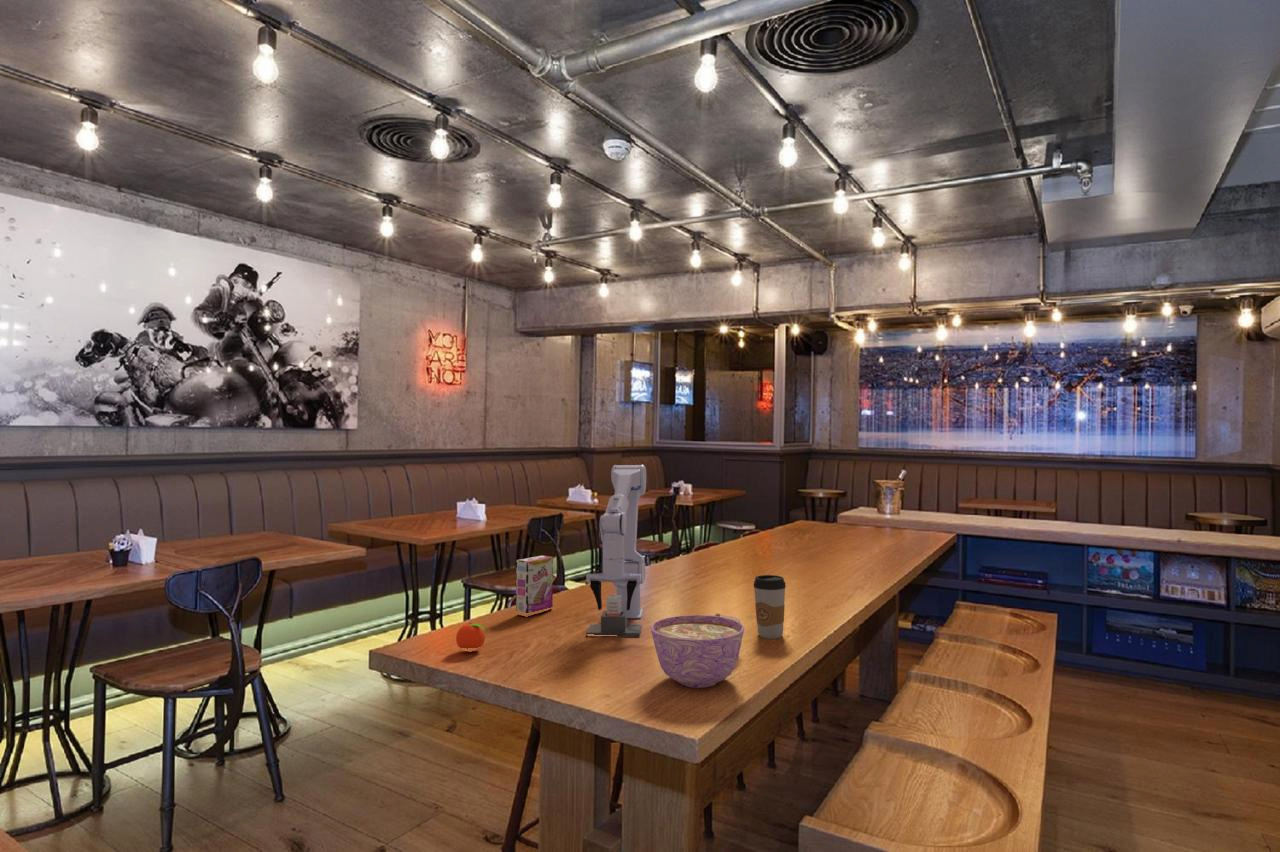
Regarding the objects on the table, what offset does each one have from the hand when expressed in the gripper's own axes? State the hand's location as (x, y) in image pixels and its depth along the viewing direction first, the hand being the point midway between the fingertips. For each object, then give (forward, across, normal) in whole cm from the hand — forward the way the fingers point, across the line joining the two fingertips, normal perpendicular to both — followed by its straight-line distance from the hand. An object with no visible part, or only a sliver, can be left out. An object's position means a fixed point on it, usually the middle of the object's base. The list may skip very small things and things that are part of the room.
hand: (614, 609), depth 189 cm
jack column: (+5, 0, 0) cm, 5 cm away
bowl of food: (+6, +22, -37) cm, 44 cm away
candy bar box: (+6, -26, +21) cm, 34 cm away
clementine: (+6, -33, -18) cm, 38 cm away
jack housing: (+6, 0, 0) cm, 6 cm away
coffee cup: (+6, +41, -2) cm, 42 cm away
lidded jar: (+6, +27, -17) cm, 33 cm away
